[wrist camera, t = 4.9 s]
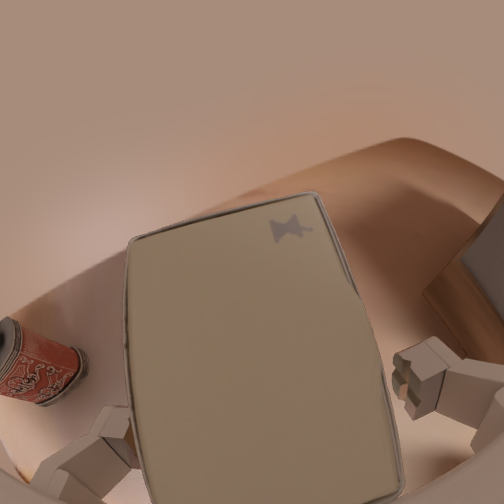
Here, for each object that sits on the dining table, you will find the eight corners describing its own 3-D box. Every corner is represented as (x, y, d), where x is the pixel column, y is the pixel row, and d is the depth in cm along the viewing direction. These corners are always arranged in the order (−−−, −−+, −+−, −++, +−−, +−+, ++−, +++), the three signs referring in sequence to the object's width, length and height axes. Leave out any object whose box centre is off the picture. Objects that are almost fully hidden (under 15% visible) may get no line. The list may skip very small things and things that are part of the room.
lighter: (80, 340, 17) (-18, 287, 9) (94, 376, 16) (-17, 336, 7) (32, 381, 16) (-55, 347, 7) (42, 413, 14) (-52, 389, 6)
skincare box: (235, 342, 16) (123, 224, 6) (305, 326, 16) (314, 173, 5) (254, 442, 13) (147, 531, 2) (329, 426, 12) (414, 497, 2)
